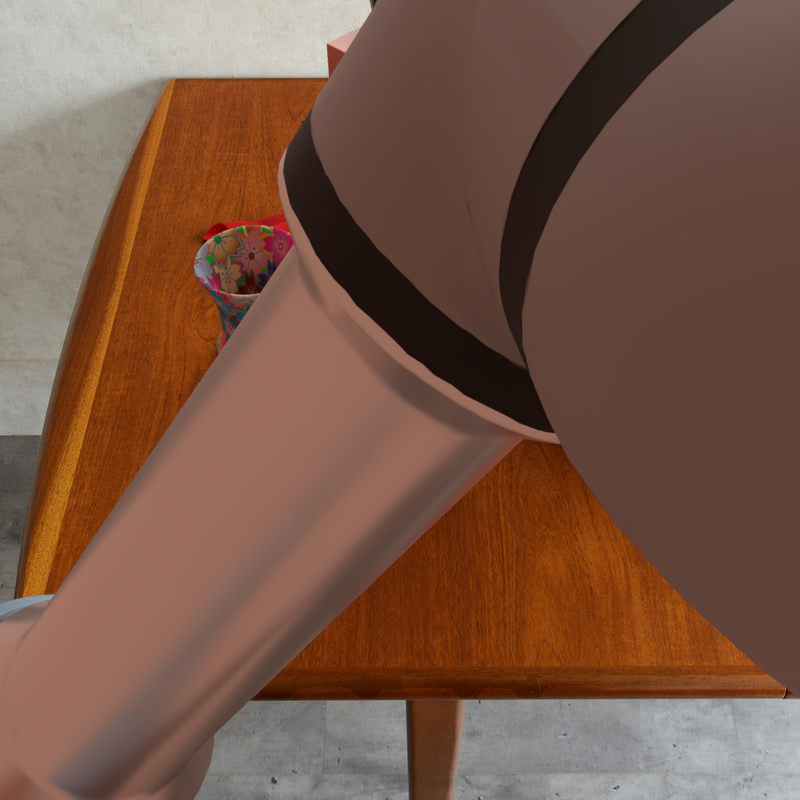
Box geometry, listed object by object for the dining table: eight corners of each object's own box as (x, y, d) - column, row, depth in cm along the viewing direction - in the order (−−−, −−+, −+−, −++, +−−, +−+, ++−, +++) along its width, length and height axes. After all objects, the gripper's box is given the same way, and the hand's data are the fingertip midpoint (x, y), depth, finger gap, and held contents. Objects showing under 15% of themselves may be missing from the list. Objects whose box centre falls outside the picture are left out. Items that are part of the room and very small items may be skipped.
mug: (194, 369, 80) (171, 279, 72) (244, 304, 86) (228, 214, 78) (315, 407, 77) (304, 318, 69) (358, 337, 83) (354, 247, 75)
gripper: (688, 553, 47) (409, 210, 48) (824, 393, 55) (582, 98, 55) (794, 527, 41) (469, 129, 41) (933, 349, 48) (656, 14, 49)
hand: (534, 112), depth 48 cm, fingers closed on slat, 3 cm apart
